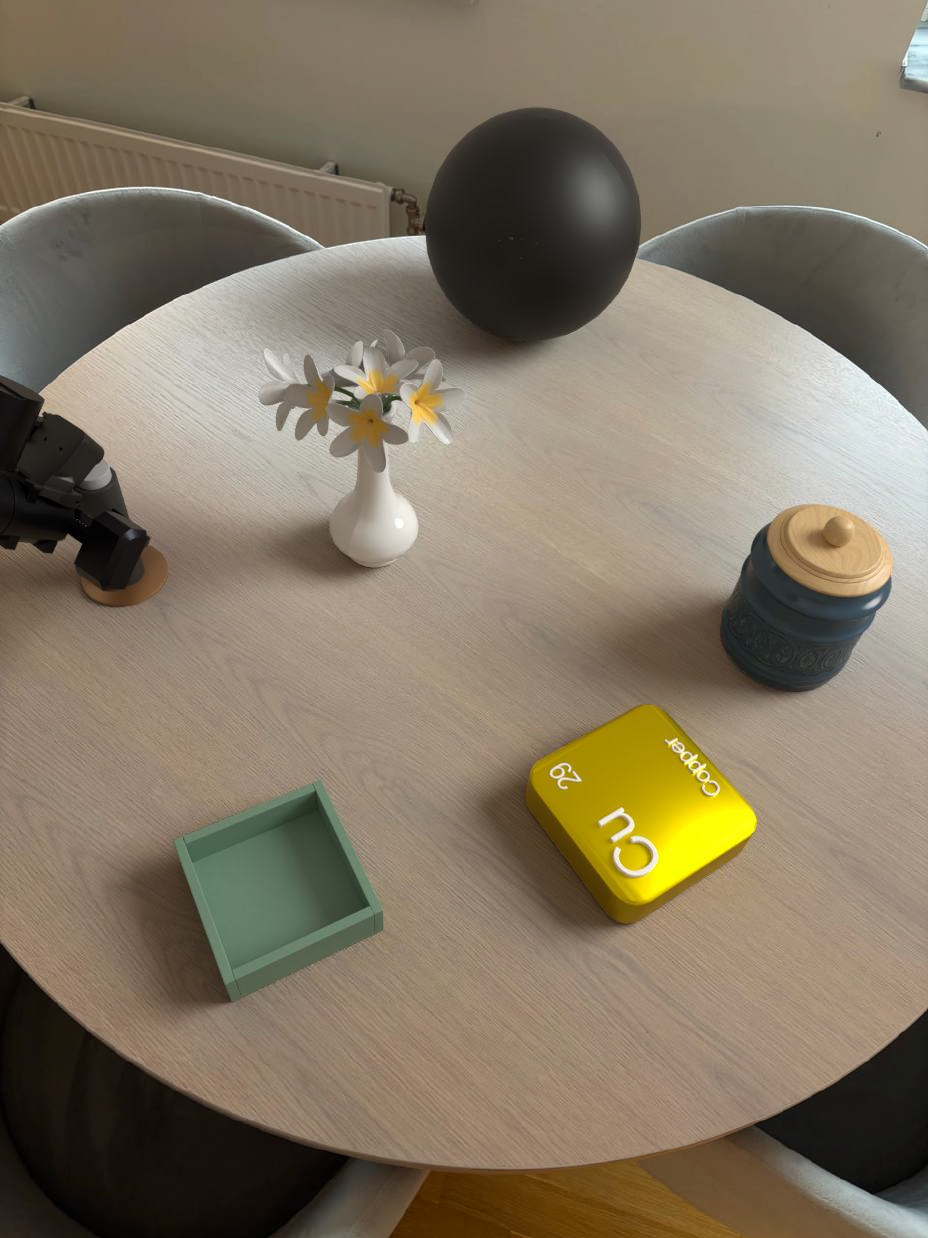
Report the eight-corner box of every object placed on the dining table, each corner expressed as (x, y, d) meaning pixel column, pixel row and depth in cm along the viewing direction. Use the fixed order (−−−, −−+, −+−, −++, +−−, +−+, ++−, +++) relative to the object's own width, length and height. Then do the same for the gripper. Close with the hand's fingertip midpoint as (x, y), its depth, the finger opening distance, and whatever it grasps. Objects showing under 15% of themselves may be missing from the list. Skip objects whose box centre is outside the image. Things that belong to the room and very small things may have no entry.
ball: (414, 268, 136) (419, 65, 115) (597, 267, 139) (634, 70, 118) (430, 386, 120) (439, 174, 99) (637, 382, 123) (689, 177, 102)
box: (231, 1002, 72) (224, 985, 68) (181, 861, 78) (172, 839, 75) (383, 930, 76) (383, 910, 73) (323, 802, 83) (320, 779, 79)
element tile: (753, 846, 83) (770, 821, 79) (619, 935, 77) (631, 912, 73) (643, 720, 90) (655, 691, 86) (514, 793, 84) (520, 766, 81)
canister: (836, 712, 92) (915, 595, 78) (705, 669, 94) (759, 548, 80) (849, 616, 100) (923, 494, 86) (728, 579, 102) (781, 454, 88)
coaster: (93, 617, 94) (92, 615, 93) (72, 559, 98) (71, 556, 98) (178, 590, 96) (178, 587, 96) (154, 535, 101) (153, 532, 101)
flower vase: (289, 502, 105) (266, 303, 86) (455, 511, 106) (470, 315, 86) (273, 591, 97) (243, 394, 78) (452, 600, 98) (468, 407, 78)
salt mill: (138, 589, 96) (105, 485, 85) (98, 585, 96) (60, 481, 85) (149, 559, 98) (119, 455, 87) (110, 556, 98) (75, 451, 87)
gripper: (104, 466, 74) (225, 494, 89) (-45, 369, 80) (91, 409, 95) (49, 591, 76) (176, 598, 91) (-93, 486, 82) (48, 508, 97)
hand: (122, 524), depth 93 cm, fingers open, 7 cm apart
